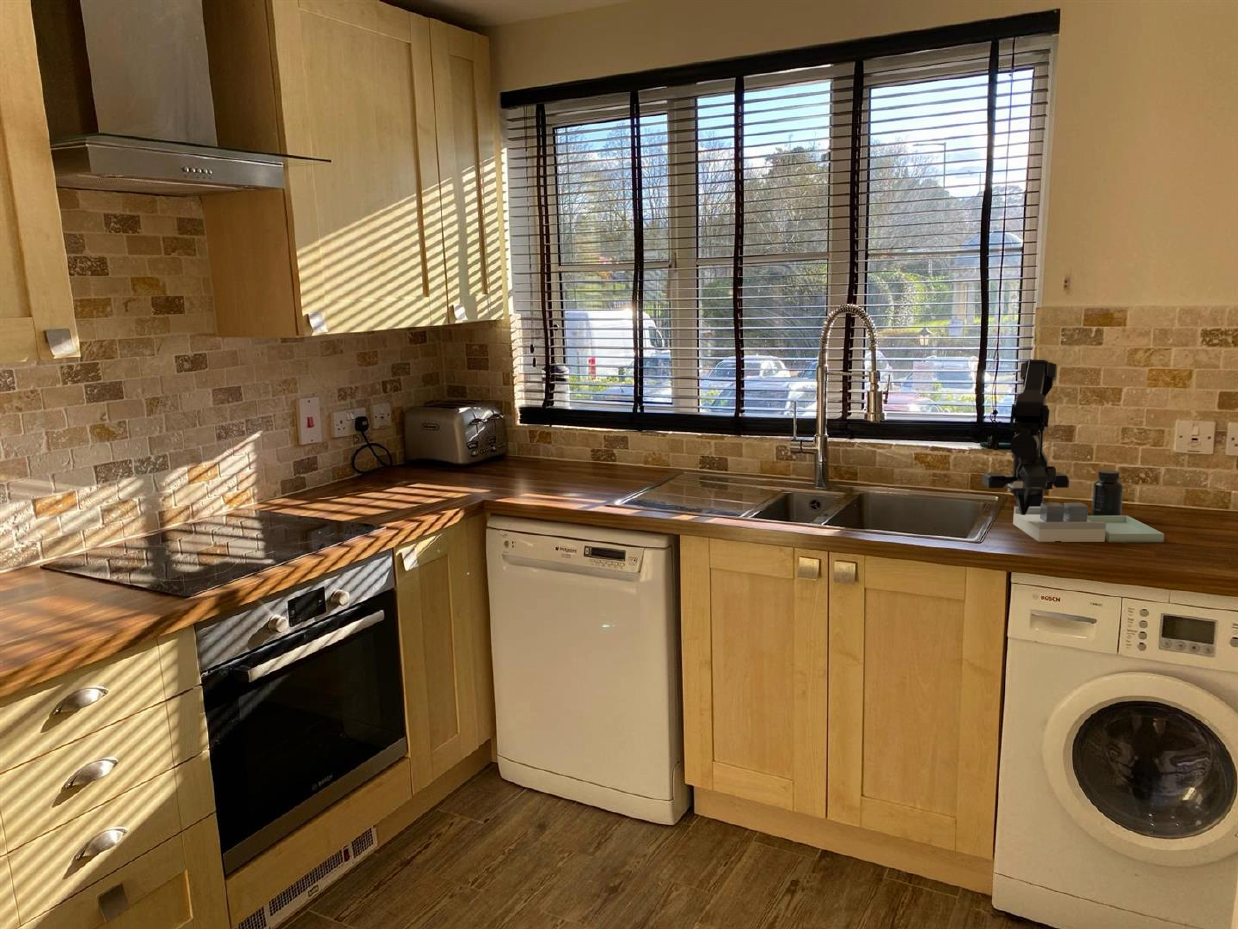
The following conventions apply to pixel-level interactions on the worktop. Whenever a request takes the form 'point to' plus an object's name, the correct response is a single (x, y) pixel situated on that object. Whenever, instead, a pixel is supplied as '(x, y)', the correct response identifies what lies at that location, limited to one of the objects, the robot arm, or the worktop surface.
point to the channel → (1058, 528)
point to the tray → (1127, 529)
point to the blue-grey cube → (1052, 512)
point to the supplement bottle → (1107, 494)
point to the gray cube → (1075, 512)
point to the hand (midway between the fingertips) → (1022, 514)
